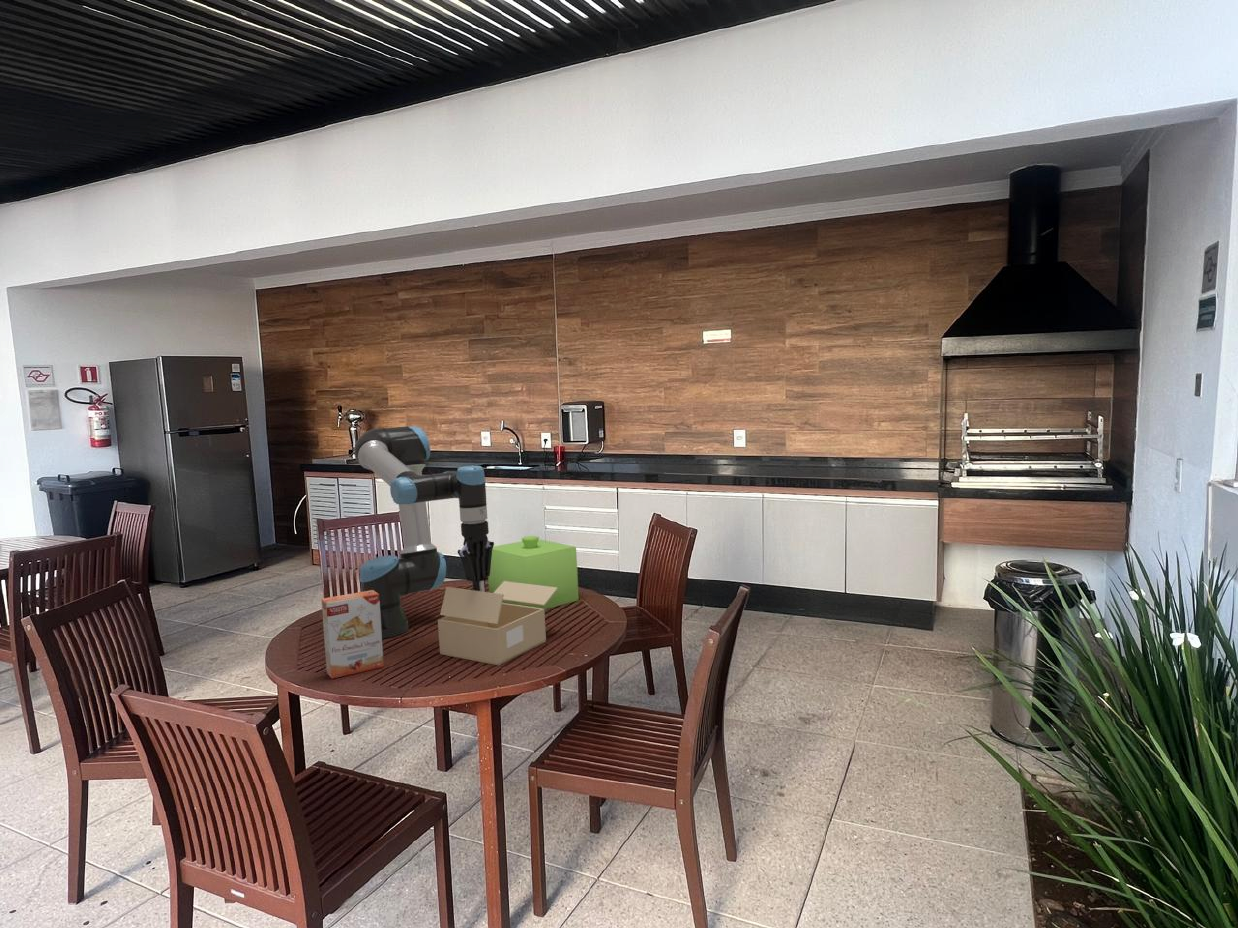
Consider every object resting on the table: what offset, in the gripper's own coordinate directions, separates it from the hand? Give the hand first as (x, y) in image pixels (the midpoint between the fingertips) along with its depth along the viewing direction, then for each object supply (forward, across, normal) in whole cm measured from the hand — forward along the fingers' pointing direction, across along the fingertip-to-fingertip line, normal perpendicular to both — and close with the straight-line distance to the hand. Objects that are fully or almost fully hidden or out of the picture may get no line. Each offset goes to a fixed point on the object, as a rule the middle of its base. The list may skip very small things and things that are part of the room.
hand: (480, 603), depth 209 cm
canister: (+15, +50, +20) cm, 56 cm away
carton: (+15, +4, 0) cm, 15 cm away
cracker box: (+14, -25, +23) cm, 37 cm away
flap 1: (+4, -6, 0) cm, 7 cm away
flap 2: (+4, +15, 0) cm, 15 cm away
